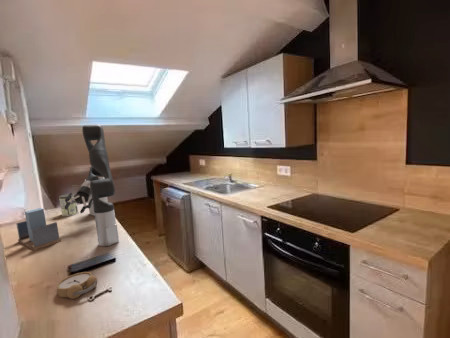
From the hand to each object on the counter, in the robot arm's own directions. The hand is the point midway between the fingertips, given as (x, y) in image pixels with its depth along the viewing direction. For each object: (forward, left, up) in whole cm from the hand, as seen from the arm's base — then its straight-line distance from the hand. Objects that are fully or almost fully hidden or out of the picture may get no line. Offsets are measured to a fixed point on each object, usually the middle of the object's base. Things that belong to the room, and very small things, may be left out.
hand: (73, 210), depth 147 cm
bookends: (+4, +17, -11) cm, 21 cm away
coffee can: (+40, -16, -13) cm, 45 cm away
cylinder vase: (+21, -27, -13) cm, 37 cm away
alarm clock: (-61, +30, -13) cm, 69 cm away
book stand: (+4, +17, -12) cm, 22 cm away
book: (+4, +17, -11) cm, 21 cm away
